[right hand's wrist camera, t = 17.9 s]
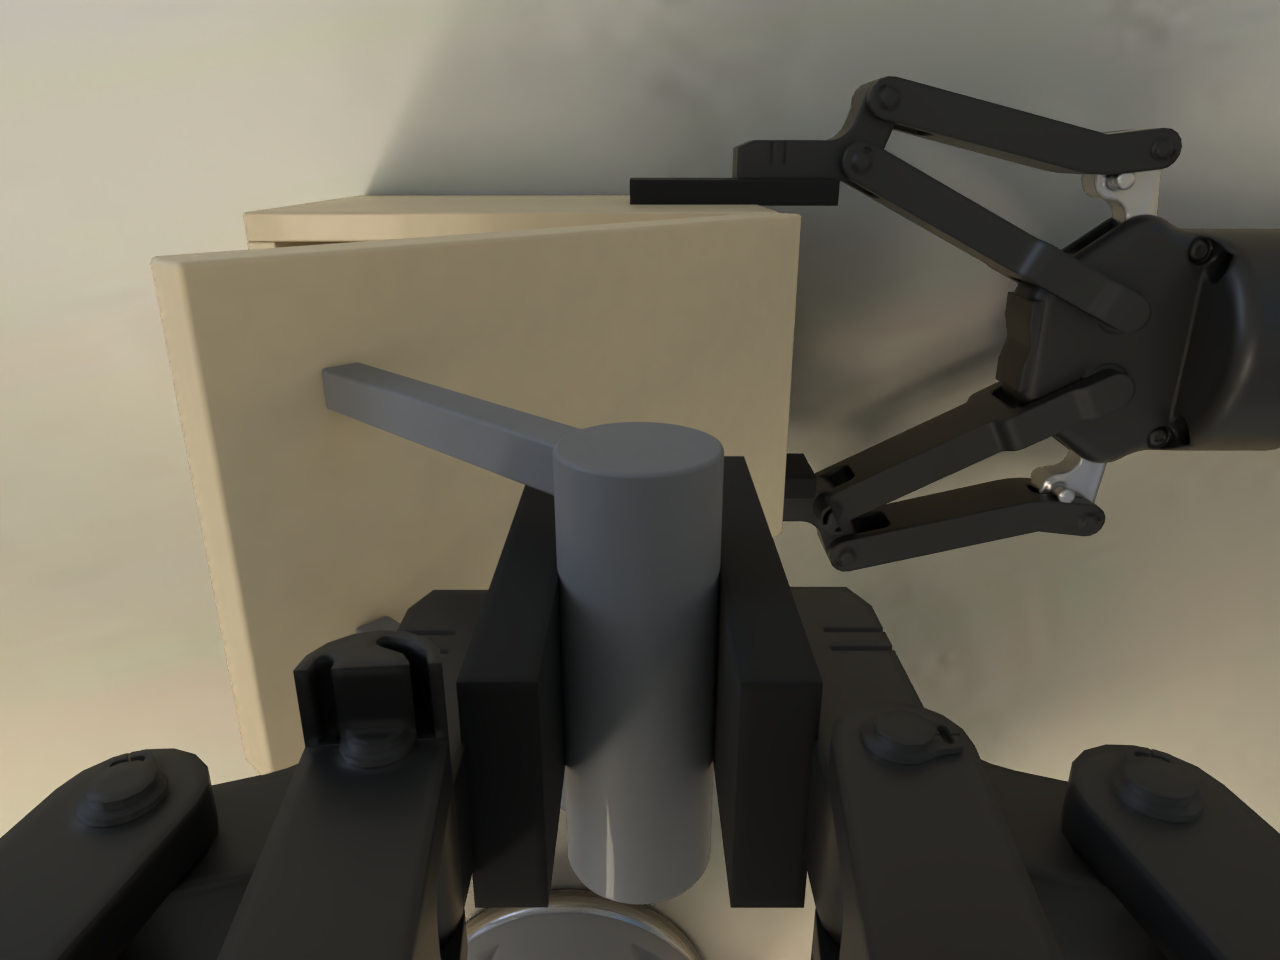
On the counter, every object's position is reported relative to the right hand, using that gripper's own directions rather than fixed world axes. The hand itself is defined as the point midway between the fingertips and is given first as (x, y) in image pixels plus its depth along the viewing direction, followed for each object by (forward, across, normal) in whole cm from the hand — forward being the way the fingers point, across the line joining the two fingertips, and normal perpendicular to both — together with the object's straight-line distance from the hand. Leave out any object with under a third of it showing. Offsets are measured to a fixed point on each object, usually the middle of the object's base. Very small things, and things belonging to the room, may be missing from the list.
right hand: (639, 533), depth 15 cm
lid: (+6, +2, 0) cm, 6 cm away
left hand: (+16, 0, 0) cm, 16 cm away
